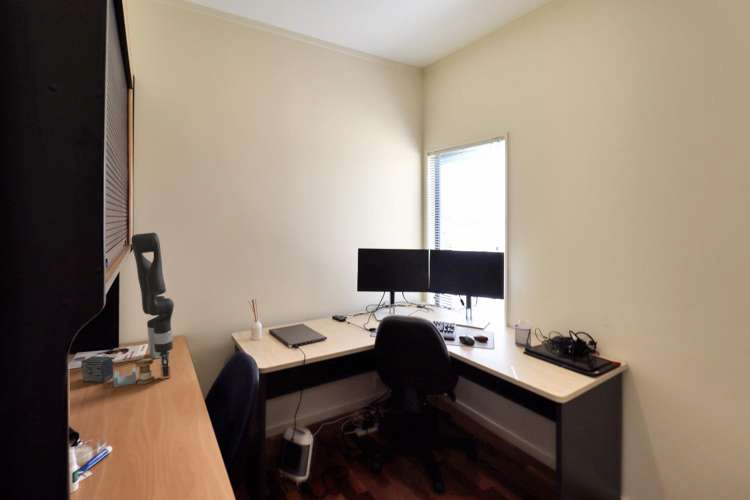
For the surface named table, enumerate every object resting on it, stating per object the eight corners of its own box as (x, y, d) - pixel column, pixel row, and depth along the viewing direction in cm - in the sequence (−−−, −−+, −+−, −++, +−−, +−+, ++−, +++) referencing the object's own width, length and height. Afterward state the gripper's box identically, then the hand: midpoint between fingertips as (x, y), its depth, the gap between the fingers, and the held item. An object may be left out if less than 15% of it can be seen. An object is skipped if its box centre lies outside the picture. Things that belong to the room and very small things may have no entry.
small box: (114, 376, 173) (112, 356, 172) (103, 383, 167) (101, 362, 165) (94, 375, 174) (92, 355, 173) (82, 382, 168) (80, 361, 166)
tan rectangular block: (160, 376, 172) (160, 364, 172) (170, 374, 175) (169, 363, 174) (161, 379, 170) (160, 367, 169) (170, 377, 172) (169, 365, 171)
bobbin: (137, 379, 171) (135, 360, 169) (154, 375, 174) (153, 357, 173) (136, 385, 165) (135, 366, 163) (154, 381, 168) (153, 362, 167)
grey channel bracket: (115, 380, 170) (114, 371, 169) (136, 375, 174) (136, 367, 174) (114, 387, 163) (113, 378, 163) (136, 382, 167) (135, 373, 167)
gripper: (153, 337, 174) (156, 370, 176) (154, 347, 162) (157, 382, 164) (171, 334, 178) (173, 366, 180) (173, 343, 166) (175, 378, 168)
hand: (165, 374), depth 172 cm, fingers closed on tan rectangular block, 2 cm apart
